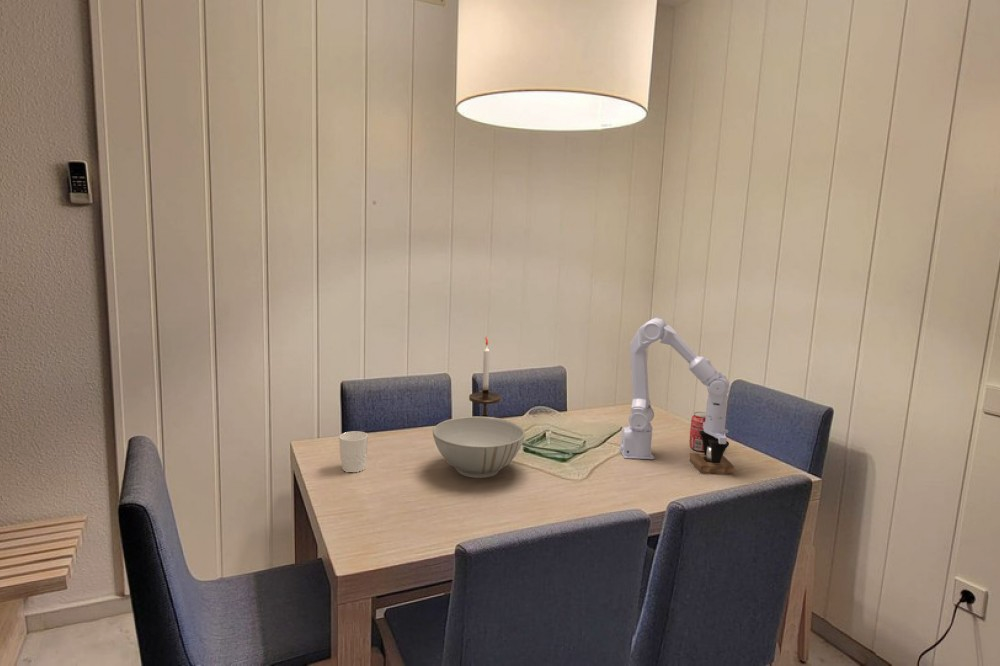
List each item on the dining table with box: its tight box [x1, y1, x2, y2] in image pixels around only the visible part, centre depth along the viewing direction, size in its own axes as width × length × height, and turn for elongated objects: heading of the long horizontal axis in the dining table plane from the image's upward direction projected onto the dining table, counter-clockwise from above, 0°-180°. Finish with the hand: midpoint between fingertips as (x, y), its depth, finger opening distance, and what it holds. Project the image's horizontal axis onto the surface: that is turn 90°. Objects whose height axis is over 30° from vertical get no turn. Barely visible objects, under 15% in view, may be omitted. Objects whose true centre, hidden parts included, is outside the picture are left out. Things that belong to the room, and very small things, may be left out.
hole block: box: [688, 452, 735, 475], centre depth 179 cm, size 10×10×2 cm
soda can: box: [688, 411, 706, 452], centre depth 194 cm, size 7×7×12 cm
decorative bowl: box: [432, 415, 526, 479], centre depth 171 cm, size 27×27×12 cm
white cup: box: [339, 430, 368, 473], centre depth 169 cm, size 8×8×10 cm
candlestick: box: [468, 335, 502, 417], centre depth 197 cm, size 11×11×35 cm
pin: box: [706, 446, 712, 463], centre depth 178 cm, size 3×3×6 cm
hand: (711, 458), depth 179 cm, fingers open, 6 cm apart
